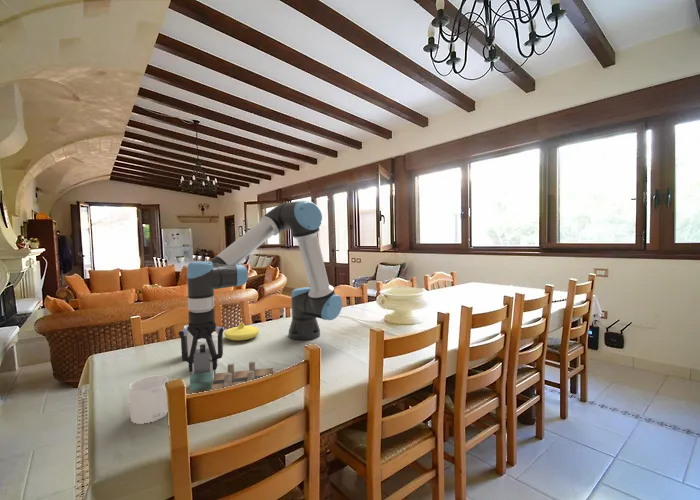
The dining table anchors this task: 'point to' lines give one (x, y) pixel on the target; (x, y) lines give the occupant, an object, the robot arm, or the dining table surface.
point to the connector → (202, 360)
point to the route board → (224, 378)
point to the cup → (203, 341)
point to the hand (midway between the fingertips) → (203, 380)
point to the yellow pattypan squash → (241, 332)
